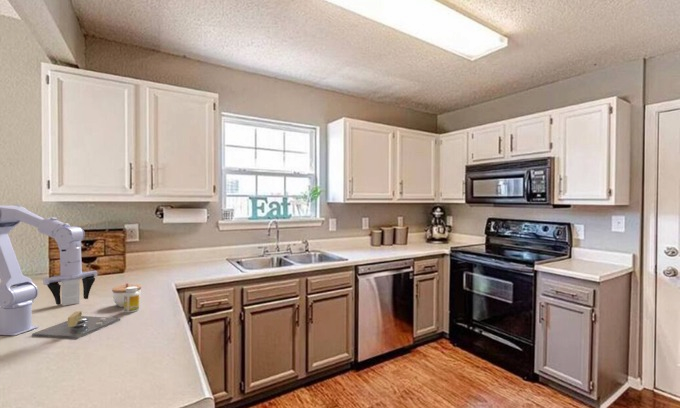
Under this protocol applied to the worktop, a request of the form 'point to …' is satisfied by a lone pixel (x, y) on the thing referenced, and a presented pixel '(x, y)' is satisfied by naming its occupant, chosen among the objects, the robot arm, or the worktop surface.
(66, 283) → the skincare box
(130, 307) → the supplement bottle
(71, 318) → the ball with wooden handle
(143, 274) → the worktop surface
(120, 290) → the lidded jar
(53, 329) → the base plate
